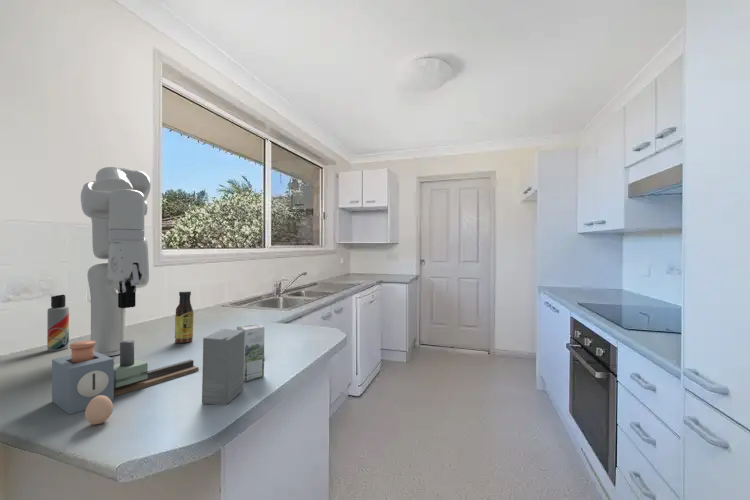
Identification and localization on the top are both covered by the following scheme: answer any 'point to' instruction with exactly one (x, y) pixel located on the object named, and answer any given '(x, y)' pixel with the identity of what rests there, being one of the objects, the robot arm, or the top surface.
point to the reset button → (82, 351)
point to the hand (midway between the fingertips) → (126, 307)
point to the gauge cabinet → (81, 381)
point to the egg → (99, 409)
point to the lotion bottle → (58, 324)
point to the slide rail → (159, 376)
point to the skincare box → (222, 366)
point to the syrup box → (253, 351)
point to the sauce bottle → (184, 319)
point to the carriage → (129, 366)
